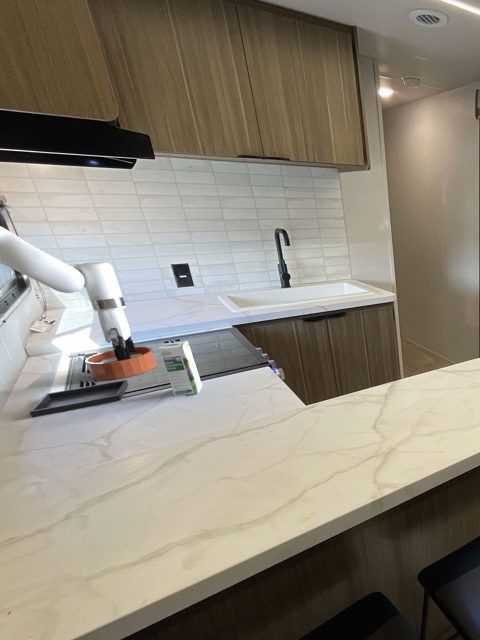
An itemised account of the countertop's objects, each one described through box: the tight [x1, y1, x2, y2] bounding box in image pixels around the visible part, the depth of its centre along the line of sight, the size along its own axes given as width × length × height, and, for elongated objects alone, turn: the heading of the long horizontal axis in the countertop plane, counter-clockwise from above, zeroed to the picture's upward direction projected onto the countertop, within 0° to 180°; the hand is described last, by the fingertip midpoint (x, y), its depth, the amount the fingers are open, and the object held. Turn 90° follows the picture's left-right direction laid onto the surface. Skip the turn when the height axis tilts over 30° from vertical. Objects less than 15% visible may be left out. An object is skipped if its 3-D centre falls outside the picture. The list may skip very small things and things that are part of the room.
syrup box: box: [158, 340, 203, 397], centre depth 114 cm, size 6×6×14 cm
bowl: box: [84, 346, 158, 381], centre depth 130 cm, size 16×16×6 cm
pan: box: [29, 379, 129, 418], centre depth 111 cm, size 17×13×2 cm
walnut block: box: [101, 357, 117, 363], centre depth 129 cm, size 4×4×4 cm
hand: (127, 356), depth 130 cm, fingers open, 9 cm apart
